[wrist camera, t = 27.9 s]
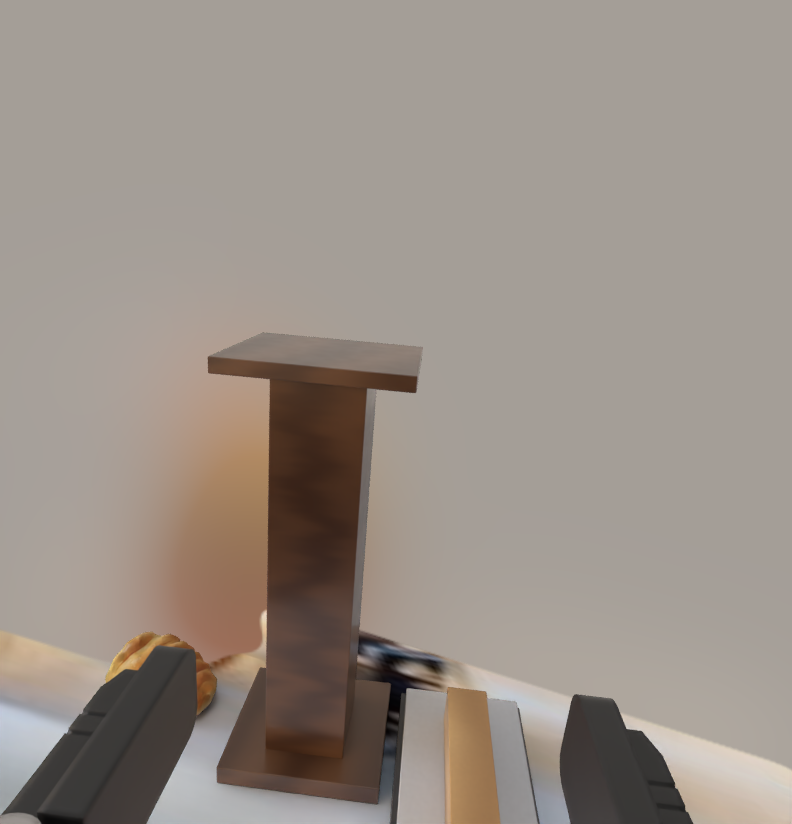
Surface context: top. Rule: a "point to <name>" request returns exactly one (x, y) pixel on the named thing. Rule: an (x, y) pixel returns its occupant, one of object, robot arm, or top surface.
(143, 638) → the pastry
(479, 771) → the beech stick
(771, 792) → the top surface
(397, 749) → the scale
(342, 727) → the stand
